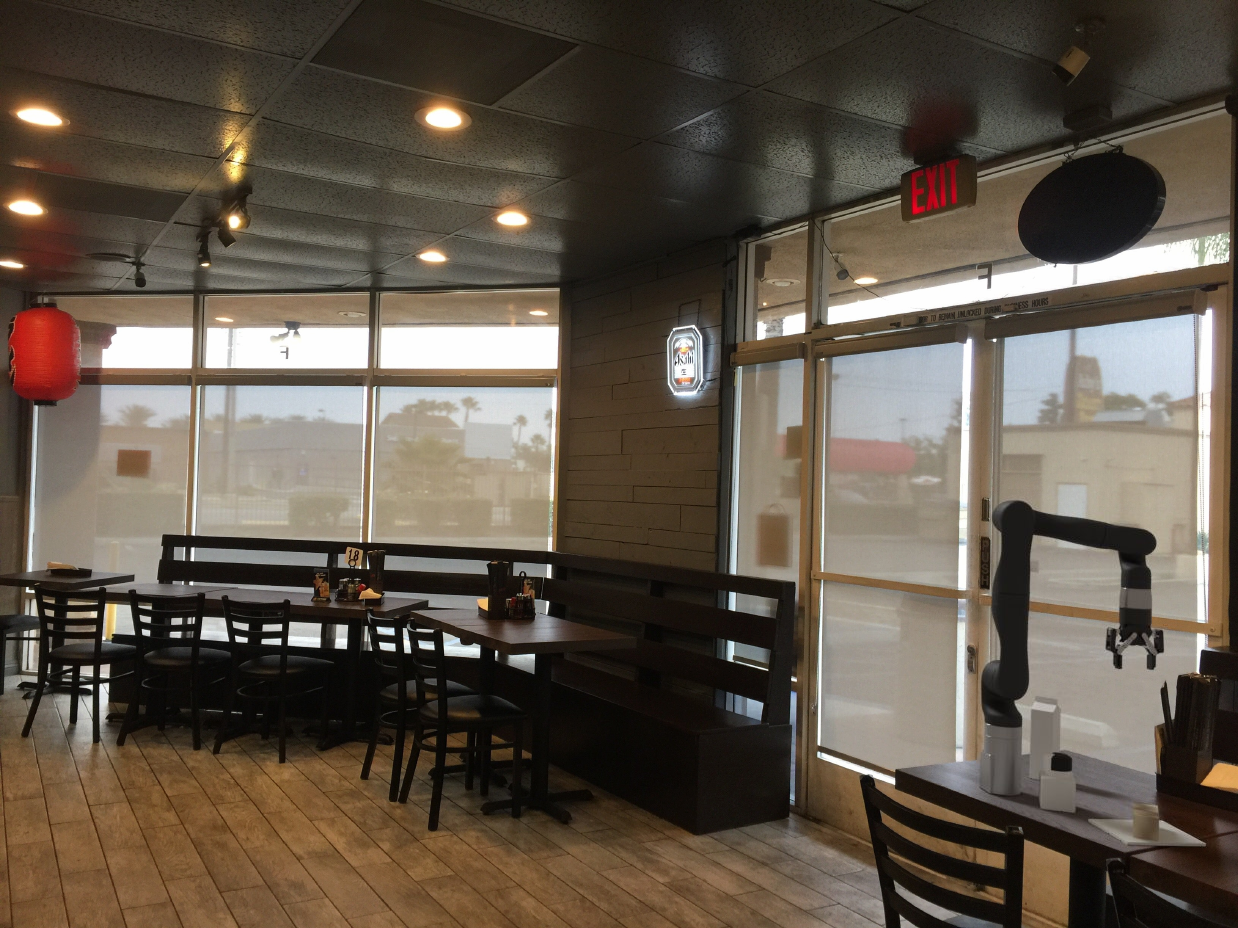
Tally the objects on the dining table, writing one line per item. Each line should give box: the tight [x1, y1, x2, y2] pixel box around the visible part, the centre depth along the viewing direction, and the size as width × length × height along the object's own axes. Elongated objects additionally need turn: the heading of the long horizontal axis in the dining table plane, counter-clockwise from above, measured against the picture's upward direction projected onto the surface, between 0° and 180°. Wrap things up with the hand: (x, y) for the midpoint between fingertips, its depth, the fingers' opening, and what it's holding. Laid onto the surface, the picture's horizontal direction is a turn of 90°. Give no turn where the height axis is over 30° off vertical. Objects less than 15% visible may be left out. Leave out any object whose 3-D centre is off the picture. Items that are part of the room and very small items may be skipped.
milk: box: [1028, 695, 1062, 781], centre depth 273 cm, size 6×6×22 cm
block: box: [1132, 801, 1160, 842], centre depth 227 cm, size 5×5×12 cm
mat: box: [1087, 818, 1207, 847], centre depth 228 cm, size 18×16×1 cm
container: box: [1038, 752, 1077, 814], centre depth 246 cm, size 8×8×13 cm
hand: (1134, 669), depth 257 cm, fingers open, 8 cm apart
